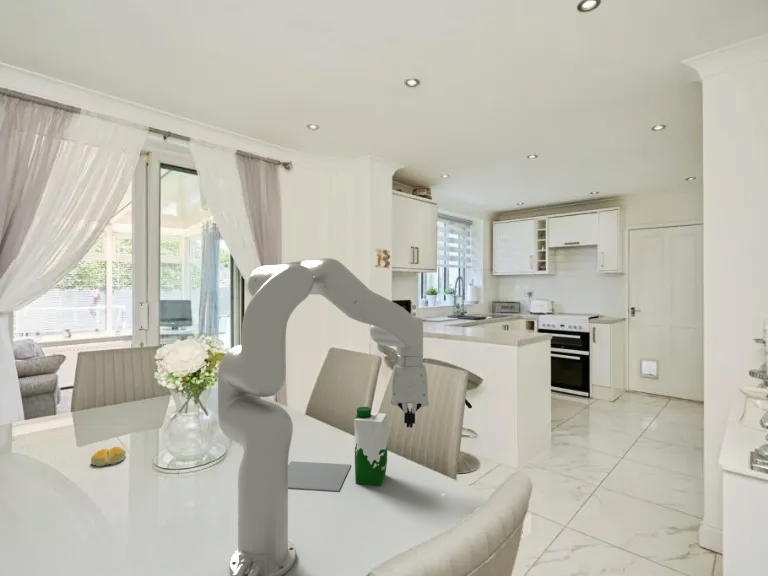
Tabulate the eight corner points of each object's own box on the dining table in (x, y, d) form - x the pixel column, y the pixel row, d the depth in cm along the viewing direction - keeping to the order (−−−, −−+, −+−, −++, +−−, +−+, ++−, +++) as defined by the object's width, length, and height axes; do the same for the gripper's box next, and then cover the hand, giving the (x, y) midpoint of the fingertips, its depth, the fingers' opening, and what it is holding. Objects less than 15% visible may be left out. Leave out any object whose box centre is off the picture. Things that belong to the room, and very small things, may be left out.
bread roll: (94, 459, 129) (94, 446, 129) (126, 454, 133) (126, 442, 133) (87, 469, 121) (87, 456, 121) (122, 464, 125) (122, 451, 125)
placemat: (338, 491, 108) (338, 490, 108) (270, 487, 110) (270, 486, 110) (350, 465, 124) (350, 464, 124) (291, 462, 126) (291, 461, 126)
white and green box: (359, 471, 120) (359, 404, 120) (389, 473, 119) (389, 405, 119) (351, 485, 112) (351, 412, 112) (383, 488, 110) (383, 415, 110)
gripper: (381, 362, 111) (381, 429, 111) (436, 364, 109) (436, 431, 109) (385, 358, 118) (385, 420, 119) (436, 359, 117) (436, 422, 117)
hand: (409, 425), depth 114 cm, fingers closed
